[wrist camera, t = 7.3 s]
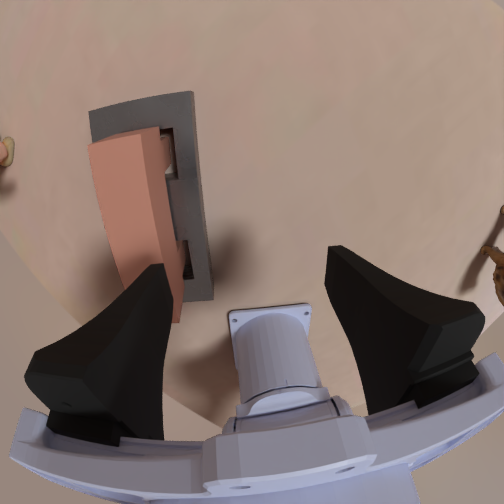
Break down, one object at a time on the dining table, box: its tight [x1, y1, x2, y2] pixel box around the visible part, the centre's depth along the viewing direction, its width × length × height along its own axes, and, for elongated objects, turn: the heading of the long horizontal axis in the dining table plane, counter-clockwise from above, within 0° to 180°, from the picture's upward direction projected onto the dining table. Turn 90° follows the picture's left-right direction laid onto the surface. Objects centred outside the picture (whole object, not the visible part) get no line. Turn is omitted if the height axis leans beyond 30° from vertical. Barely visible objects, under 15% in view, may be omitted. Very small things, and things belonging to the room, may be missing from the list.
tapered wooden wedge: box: [87, 126, 186, 323], centre depth 17 cm, size 12×3×6 cm, turn 2°
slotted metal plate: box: [89, 91, 214, 302], centre depth 19 cm, size 16×7×2 cm, turn 2°
